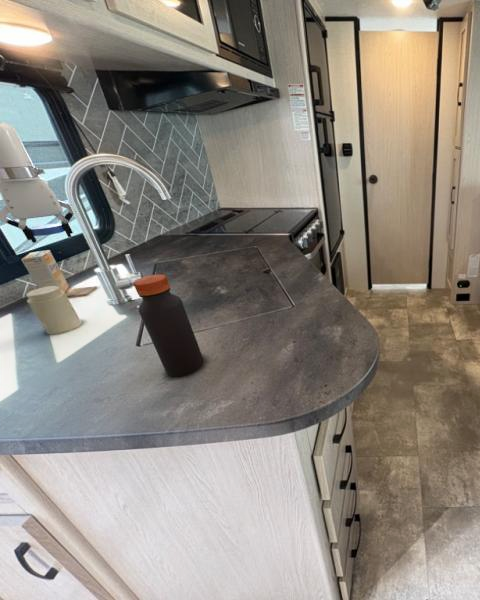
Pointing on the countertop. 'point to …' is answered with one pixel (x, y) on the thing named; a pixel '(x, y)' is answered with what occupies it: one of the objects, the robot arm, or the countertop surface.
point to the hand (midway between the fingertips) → (52, 238)
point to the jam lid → (46, 229)
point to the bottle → (168, 326)
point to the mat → (80, 291)
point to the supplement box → (44, 270)
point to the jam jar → (53, 309)
